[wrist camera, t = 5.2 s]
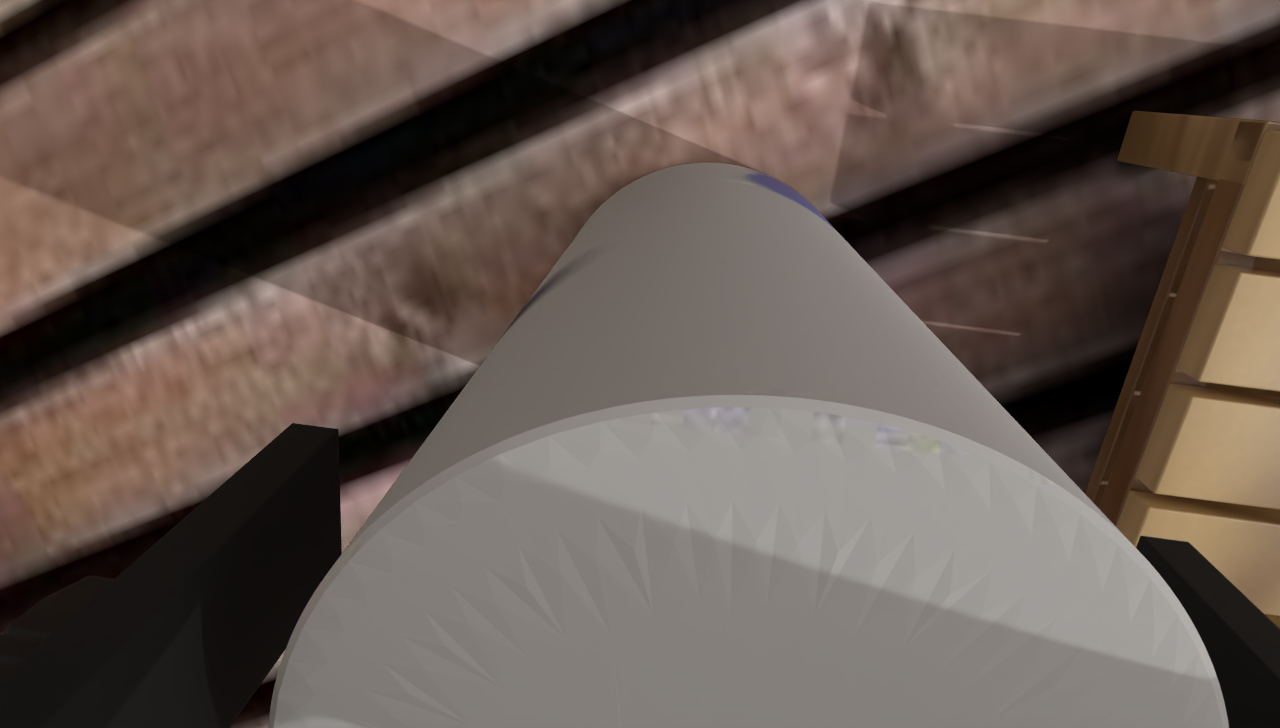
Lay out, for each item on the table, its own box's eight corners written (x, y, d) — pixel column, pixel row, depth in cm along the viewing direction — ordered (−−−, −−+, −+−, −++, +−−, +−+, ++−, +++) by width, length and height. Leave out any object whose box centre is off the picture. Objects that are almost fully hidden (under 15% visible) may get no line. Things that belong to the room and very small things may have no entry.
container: (526, 198, 26) (91, 512, 7) (829, 130, 25) (1268, 298, 6) (597, 464, 29) (425, 1160, 10) (869, 416, 28) (1235, 1116, 9)
